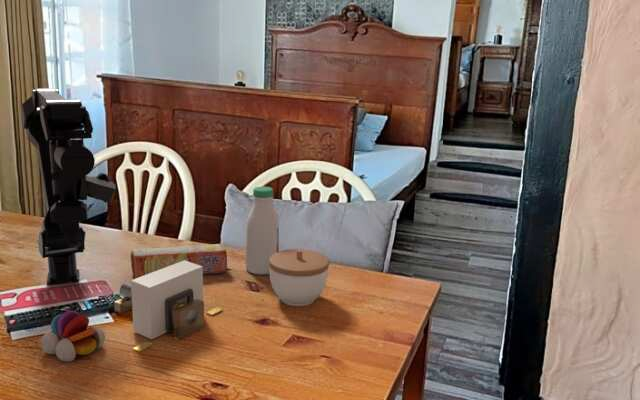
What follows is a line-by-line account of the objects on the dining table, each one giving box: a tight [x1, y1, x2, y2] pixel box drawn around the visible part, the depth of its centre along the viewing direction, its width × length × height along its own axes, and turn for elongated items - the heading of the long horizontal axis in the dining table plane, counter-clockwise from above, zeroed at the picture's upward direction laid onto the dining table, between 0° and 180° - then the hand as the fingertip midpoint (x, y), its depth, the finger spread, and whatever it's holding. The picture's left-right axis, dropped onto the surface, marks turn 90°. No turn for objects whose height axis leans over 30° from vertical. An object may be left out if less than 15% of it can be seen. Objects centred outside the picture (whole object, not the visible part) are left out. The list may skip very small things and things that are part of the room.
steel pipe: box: [113, 281, 224, 353], centre depth 117 cm, size 19×21×6 cm
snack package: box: [130, 243, 228, 279], centre depth 138 cm, size 21×7×7 cm, turn 110°
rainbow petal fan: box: [40, 310, 106, 363], centre depth 104 cm, size 8×10×7 cm
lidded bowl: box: [269, 248, 330, 307], centre depth 127 cm, size 13×13×11 cm
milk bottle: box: [245, 186, 280, 276], centre depth 141 cm, size 8×8×20 cm
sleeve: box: [130, 260, 204, 340], centre depth 114 cm, size 6×13×10 cm, turn 146°
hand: (73, 243), depth 119 cm, fingers closed
